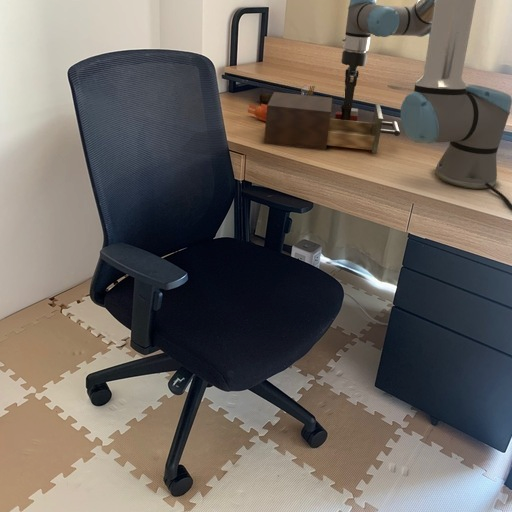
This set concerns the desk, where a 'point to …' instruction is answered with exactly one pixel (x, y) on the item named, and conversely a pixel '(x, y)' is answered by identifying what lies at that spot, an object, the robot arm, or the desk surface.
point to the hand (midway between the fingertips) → (343, 125)
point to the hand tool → (265, 97)
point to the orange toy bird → (259, 111)
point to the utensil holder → (309, 90)
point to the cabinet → (298, 120)
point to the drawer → (359, 132)
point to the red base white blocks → (352, 116)
